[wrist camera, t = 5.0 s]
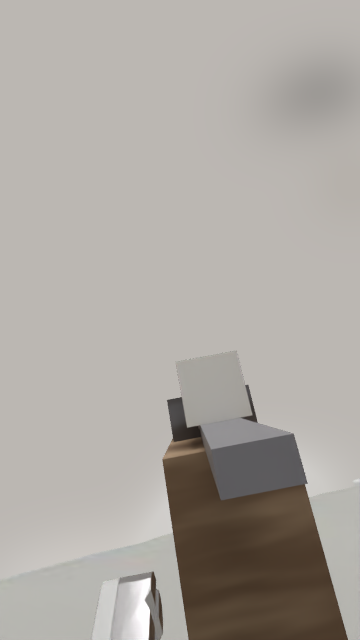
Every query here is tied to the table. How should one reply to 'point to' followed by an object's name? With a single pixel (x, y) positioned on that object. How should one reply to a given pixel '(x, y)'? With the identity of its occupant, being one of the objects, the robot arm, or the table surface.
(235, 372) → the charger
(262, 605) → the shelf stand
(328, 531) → the table surface
